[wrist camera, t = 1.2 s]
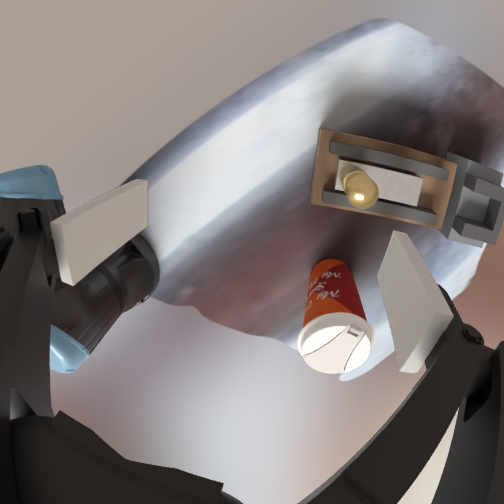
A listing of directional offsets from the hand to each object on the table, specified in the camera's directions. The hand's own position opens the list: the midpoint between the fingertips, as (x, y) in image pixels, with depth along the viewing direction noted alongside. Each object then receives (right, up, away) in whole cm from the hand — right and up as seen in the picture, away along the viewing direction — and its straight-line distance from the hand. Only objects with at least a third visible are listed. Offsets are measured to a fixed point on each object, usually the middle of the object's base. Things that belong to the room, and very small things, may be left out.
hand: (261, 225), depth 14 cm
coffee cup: (+11, -5, +26) cm, 29 cm away
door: (+15, +9, +18) cm, 25 cm away
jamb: (+27, +7, +17) cm, 33 cm away
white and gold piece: (+12, +6, +13) cm, 19 cm away
